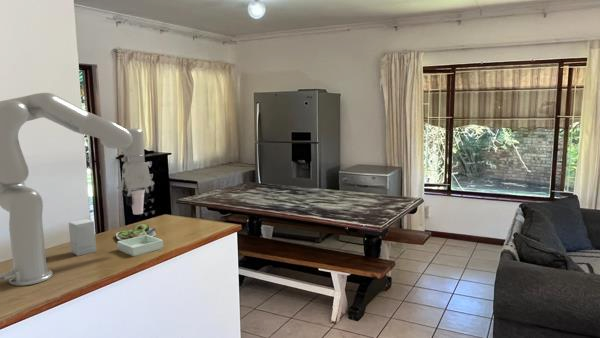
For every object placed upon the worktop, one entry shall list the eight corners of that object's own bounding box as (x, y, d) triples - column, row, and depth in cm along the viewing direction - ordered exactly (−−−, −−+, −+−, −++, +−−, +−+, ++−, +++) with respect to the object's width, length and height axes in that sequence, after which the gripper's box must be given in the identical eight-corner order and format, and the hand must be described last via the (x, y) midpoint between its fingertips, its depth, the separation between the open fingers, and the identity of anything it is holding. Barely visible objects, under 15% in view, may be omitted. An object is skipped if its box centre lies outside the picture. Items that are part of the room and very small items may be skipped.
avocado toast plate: (162, 240, 194) (161, 230, 193) (118, 246, 186) (117, 236, 185) (155, 230, 211) (154, 220, 210) (114, 235, 203) (114, 225, 202)
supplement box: (96, 251, 179) (94, 221, 177) (77, 256, 173) (75, 224, 172) (89, 247, 184) (87, 218, 182) (70, 252, 178) (67, 221, 177)
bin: (133, 256, 172) (133, 247, 171) (117, 249, 180) (117, 241, 180) (163, 248, 181) (162, 240, 181) (146, 242, 190) (146, 234, 190)
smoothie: (140, 215, 175) (138, 180, 173) (126, 215, 176) (123, 180, 174) (149, 211, 181) (147, 178, 179) (135, 211, 183) (133, 177, 181)
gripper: (118, 162, 167) (121, 209, 169) (159, 158, 180) (161, 201, 182) (108, 161, 172) (112, 206, 174) (149, 157, 185) (152, 199, 187)
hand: (137, 203), depth 178 cm, fingers closed on smoothie, 6 cm apart
